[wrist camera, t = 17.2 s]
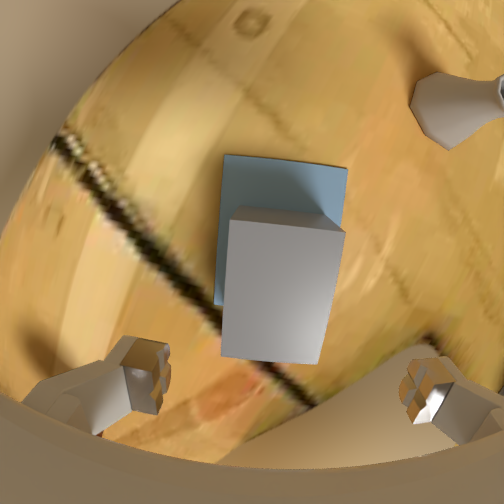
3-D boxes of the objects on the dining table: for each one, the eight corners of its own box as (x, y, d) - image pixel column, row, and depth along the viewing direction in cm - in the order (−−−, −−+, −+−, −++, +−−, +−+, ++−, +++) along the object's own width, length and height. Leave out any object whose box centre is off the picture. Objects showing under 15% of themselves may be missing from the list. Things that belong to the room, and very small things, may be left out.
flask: (396, 106, 21) (461, 82, 11) (432, 60, 19) (494, 29, 10) (447, 164, 22) (521, 171, 12) (479, 115, 20) (548, 108, 11)
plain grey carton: (306, 319, 27) (317, 364, 20) (230, 312, 27) (220, 356, 20) (324, 214, 24) (345, 232, 17) (239, 204, 24) (229, 219, 18)
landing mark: (323, 313, 26) (323, 314, 26) (214, 303, 27) (214, 304, 26) (347, 169, 23) (347, 169, 23) (224, 154, 23) (224, 154, 23)
